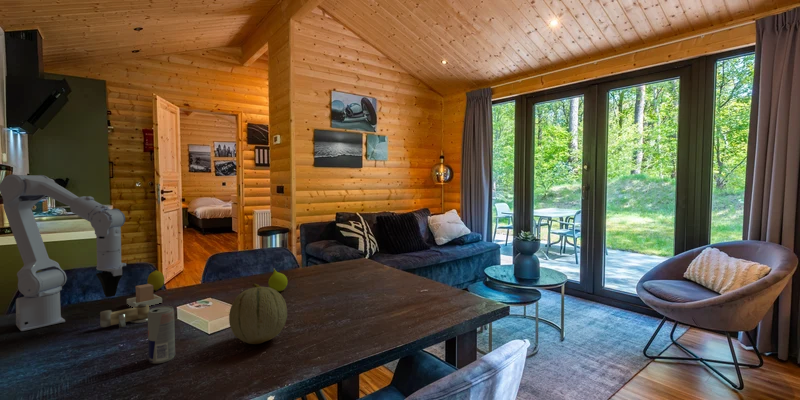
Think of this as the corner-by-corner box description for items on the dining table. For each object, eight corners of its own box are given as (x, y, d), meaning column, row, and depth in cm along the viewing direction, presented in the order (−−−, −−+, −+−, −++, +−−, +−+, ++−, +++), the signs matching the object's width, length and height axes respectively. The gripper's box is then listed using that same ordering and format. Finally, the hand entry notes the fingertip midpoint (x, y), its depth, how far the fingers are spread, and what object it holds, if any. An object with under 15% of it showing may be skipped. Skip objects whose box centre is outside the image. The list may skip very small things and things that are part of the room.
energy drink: (156, 354, 93) (155, 305, 92) (179, 353, 93) (178, 305, 93) (143, 364, 88) (142, 313, 87) (167, 363, 88) (166, 312, 87)
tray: (135, 309, 125) (135, 303, 125) (126, 304, 130) (126, 299, 130) (162, 303, 131) (162, 297, 131) (153, 299, 136) (152, 293, 136)
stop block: (140, 305, 128) (139, 288, 127) (136, 303, 130) (135, 286, 130) (153, 302, 131) (153, 285, 131) (149, 300, 133) (148, 283, 133)
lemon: (167, 289, 149) (167, 268, 149) (157, 293, 144) (157, 272, 143) (154, 288, 150) (154, 268, 149) (144, 292, 144) (143, 271, 144)
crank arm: (147, 314, 118) (146, 301, 118) (151, 316, 116) (151, 303, 116) (98, 325, 109) (98, 311, 109) (102, 328, 107) (101, 314, 107)
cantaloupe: (252, 359, 91) (252, 297, 90) (216, 344, 98) (215, 287, 98) (299, 337, 103) (299, 283, 103) (264, 326, 111) (263, 276, 110)
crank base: (120, 328, 109) (120, 315, 109) (113, 323, 113) (113, 311, 112) (157, 319, 117) (157, 307, 116) (149, 314, 120) (149, 303, 120)
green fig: (268, 289, 150) (268, 264, 149) (287, 288, 152) (287, 263, 151) (268, 294, 143) (268, 268, 142) (287, 293, 145) (287, 267, 145)
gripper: (134, 251, 110) (135, 297, 111) (117, 246, 119) (117, 288, 120) (104, 255, 105) (105, 303, 105) (88, 249, 113) (89, 293, 114)
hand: (110, 296), depth 112 cm, fingers closed
